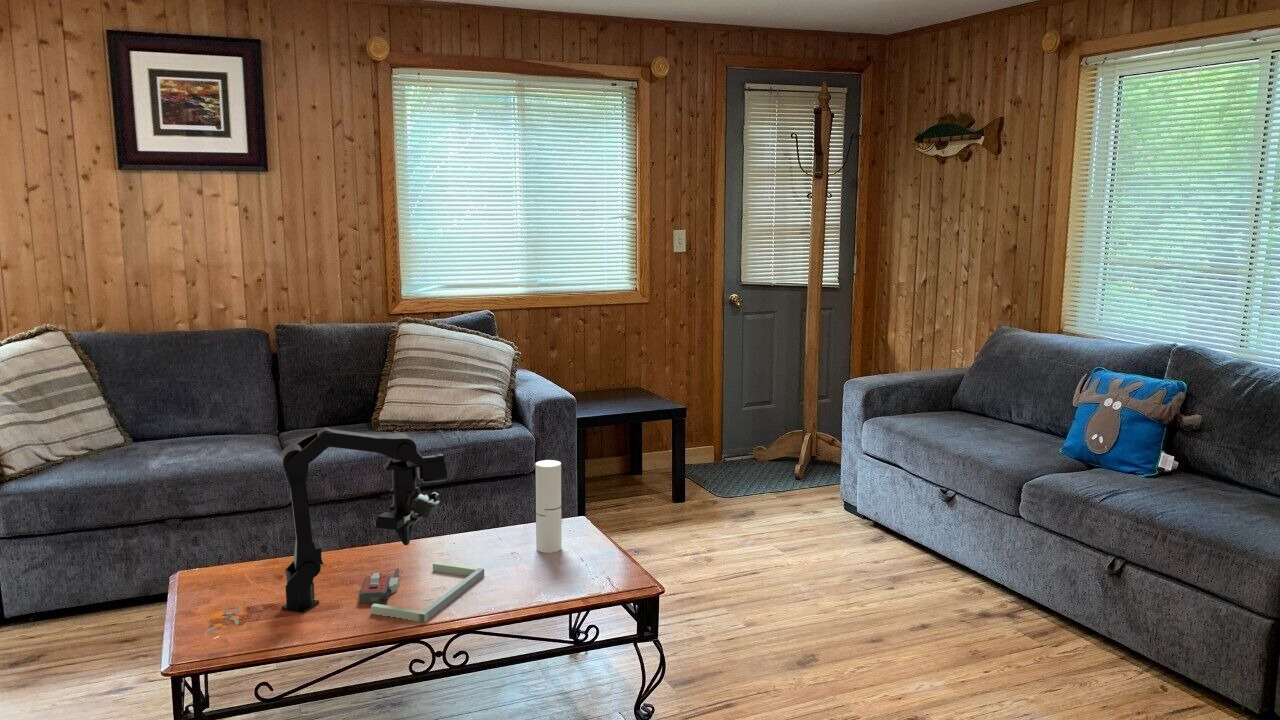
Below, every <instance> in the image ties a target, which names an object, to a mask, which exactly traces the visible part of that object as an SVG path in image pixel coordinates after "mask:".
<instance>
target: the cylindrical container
mask: <svg viewBox="0 0 1280 720" xmlns="http://www.w3.org/2000/svg"><path fill="white" fill-rule="evenodd" d="M535 536H536V537H535V543H536V544H535V548H536V549H537V550H538V551H537V550H536V551H537V552H539V551H540V552H539V553H542V552H543V553H542V554H553V552H555V553H558V552H560V551H561V550H562V462H561V461H559V460H553V459H545V460H539V461H537V462H535ZM559 550H560V551H559ZM557 551H558V552H557Z"/></svg>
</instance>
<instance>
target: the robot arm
mask: <svg viewBox="0 0 1280 720" xmlns="http://www.w3.org/2000/svg"><path fill="white" fill-rule="evenodd" d="M328 448H337V449H344V450H345V449H346V450H353V451H362V452H368V453H369V452H370V453H378V454H380V455H382V456H385V457H388V460H387V461H386V462H385V463H383V465H382V466H383V468H384V469H385V471H391V477H392V478H391V480H392V481H391V484H392V488H391V489H389V490H388V492H389V493H388V494H389V495H391V496H392V504H391V505H390V506H389V511H393V512H388V511H385V512H383V513H381V514H379V515H378V516H376V517H375V519H374V527H375V528H376V529H383V530H384V529H385V530H393V531H395V532H396V534H397V536H398V537H399V540H400V541H401V543H402V545H404V546H409V545H410V542H411V538H412V534H413V532H414V527H415V525H416V523H417V522H418V521H419V520H420V519H421V518H423V519H431V517H432V516H435V515H436V512H437V510H438V508H439V507H440V506H441V499H440V494H439V493H438V492H436V491H433V492H432V493H430V494H429V495H428V494H422V492H421V488H420V486H417V479H418V480H421V481H422V483H423V484H427V483H428V484H429V483H436V482H437V483H438V482H444V481H447V480H448V469H447V465H446V461H445V455H444V454H443V453H437V454H433V455H424V456H423V455H422V454H421V453H420V451H417V444H416V443H415V441H414V440H413V438H411V436H410V435H408V433H407V434H406V433H403V432H402V433H401V432H397V433H396V432H395V433H386V434H371V433H364V432H363V433H361V432H354V431H348V430H339V429H333V428H332V429H331V428H330V427H322V428H320V429H319V430H318V431H316V432H315V433H313V434H311V435H309V436H306V437H305V438H303V439H302V440H299V442H297V443H295V444H294V443H292V444H289V445H287V446H286V447H284V449H283V450H282V451H281V453H280V458H281V462H282V466H283V469H284V472H285V475H286V479H287V481H288V485H289V489H290V498H291V507H292V513H293V514H292V515H293V516H292V517H293V524H294V531H295V543H294V552H293V553H294V554H293V561H292V562H291V563H290V564H289V565H288V566H287V567H286V568H285V570H284V572H285V573H284V574H285V579H286V585H285V601H286V603H285V604H284V605H282V606H281V607H280V608H281V610H284V611H289V612H297V613H301V614H303V613H306V612H307V611H309V610H311V609H312V608H314V607H315V606H316V605H318V604H320V600H318V599H315V583H314V579H315V577H317V576H318V575H319V574H320V572H321V568H322V565H324V560H323V558H322V552H323V551H322V545H321V543H320V540H317V541H314V539H313V533H312V523H311V514H310V506H309V498H308V489H307V481H308V477H309V476H308V475H309V464H310V463H312V462H313V461H314V460H316V459H317V458H318V457H319V456H320V455H321V454H322V453H323V452H325V450H327V449H328ZM407 461H409V462H407Z"/></svg>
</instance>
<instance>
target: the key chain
mask: <svg viewBox="0 0 1280 720" xmlns="http://www.w3.org/2000/svg"><path fill="white" fill-rule="evenodd" d="M231 609H237V610H236V612H235V611H234V612H231V613H228V610H231ZM240 610H241V607H240V606H235V607H234V606H233V607H227V608H225V613H223V612H215V613H212V614H211V615H210V617H211V618H215V619H216V618H221V617H222V615H223V616H225V619H226V620H227V621H225V622H223V623H215V624H213V626H212V627H211V628H209V629H208V630H206V631H205V632H206V633H209V632H211V631H213V630H216V629H217V628H222V627H223V626H224V624H227V623H229V622H231V621H233V622H234V625H236V626H237V625H239V624H240V621H239V619H240V616H238V613H239V611H240Z"/></svg>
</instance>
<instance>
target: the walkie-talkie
mask: <svg viewBox="0 0 1280 720" xmlns="http://www.w3.org/2000/svg"><path fill="white" fill-rule="evenodd" d="M399 572H400V569H399V568H395V570H394V574H393V577H391V576H390V575H387V574H382V572H372V573H371V575H368V576H366V577H364V579H363V581H362V584H361V586H360V587H361V588H360V590H359V591H360V592H359V594H358V595H359V599H358V600H359V604H361V605H362V604H363V605H364V604H367V603H368V604H374V603H375V604H381V603H382V604H384V603H386V602H387V601H388V599H389V595H391V594H393V593H395V592H397V591H398V588H399V586H400V577H398V576H399ZM398 585H399V586H398ZM383 602H384V603H383Z"/></svg>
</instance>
